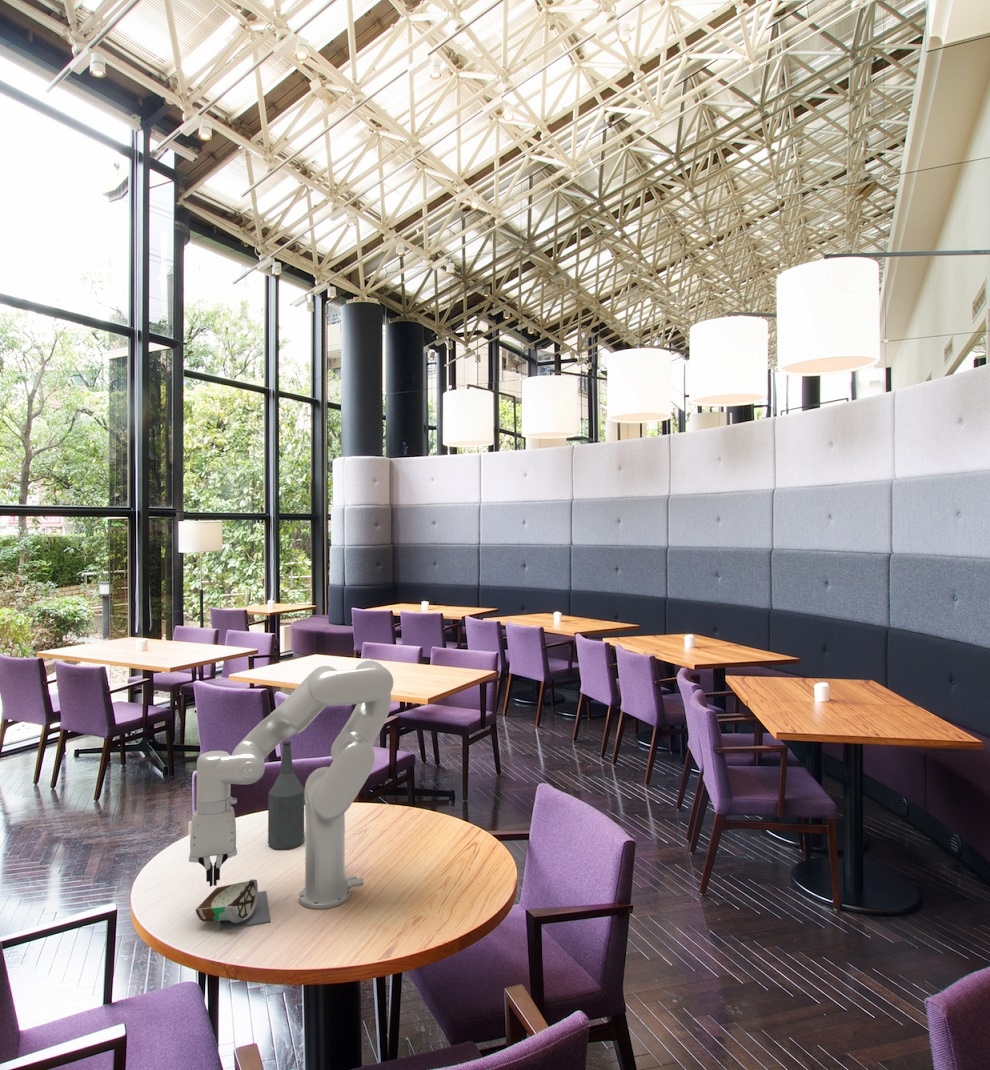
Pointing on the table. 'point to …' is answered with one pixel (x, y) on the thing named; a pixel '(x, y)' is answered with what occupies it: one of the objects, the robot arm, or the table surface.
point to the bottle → (286, 806)
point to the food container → (230, 902)
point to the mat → (252, 915)
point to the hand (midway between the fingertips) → (213, 883)
